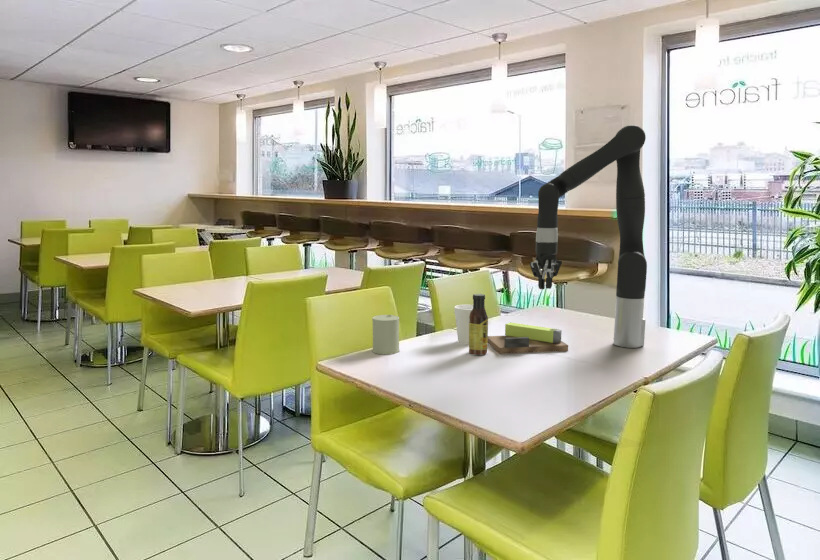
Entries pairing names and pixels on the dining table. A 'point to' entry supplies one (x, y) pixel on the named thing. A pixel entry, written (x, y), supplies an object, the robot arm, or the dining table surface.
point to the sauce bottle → (478, 326)
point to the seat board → (530, 349)
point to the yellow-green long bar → (533, 332)
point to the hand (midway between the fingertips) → (545, 288)
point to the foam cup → (463, 322)
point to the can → (385, 334)
